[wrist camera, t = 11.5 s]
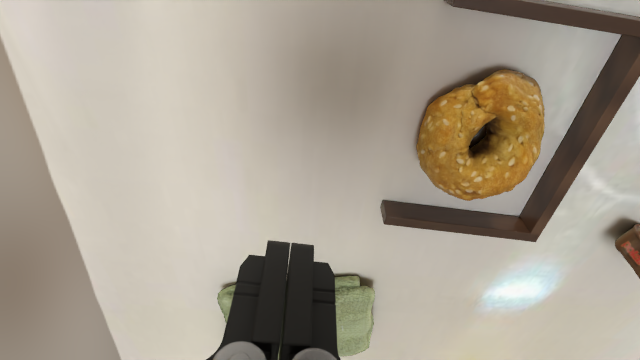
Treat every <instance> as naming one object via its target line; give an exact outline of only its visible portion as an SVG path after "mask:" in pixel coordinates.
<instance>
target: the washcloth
mask: <svg viewBox="0 0 640 360" xmlns="http://www.w3.org/2000/svg"><path fill="white" fill-rule="evenodd" d="M235 286H236V285H231V286H229V287H228V288H225V289H223V290H221V292H219V293H218V297H217V299H218V304H219V306H220V308H221V310H222V312H223V314H224V318H225V321H226V323H227V320H228V316H229V312H230V307H231V303H232V299H233V295H234V290H235ZM335 296H336V303H335V305H336V324H337V349H338V354H339V356H351V355H354V354H357V353H360V352H362V351H365V350H366V349H367V348H369V343H370V336H371V332H372V328H373V324H374V322H373V316H372V314H371V310H372V304H373V302H374V297H375V292H374V289H373V288H369V286H368V287H367V286H360V281H359V277H358V276H354V277H352V276H345V277H335ZM279 349H280V348H279ZM278 359H279V354H278Z"/></svg>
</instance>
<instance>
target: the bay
mask: <svg viewBox="0 0 640 360" xmlns="http://www.w3.org/2000/svg"><path fill="white" fill-rule="evenodd" d="M444 1H445V2H447V3H448V4H450V5H452V6H453V7H459V8H465V9H471V10H478V11H484V12H490V13H496V14H502V15H508V16H514V17H520V18H526V19H532V20H538V21H544V22H550V23H556V24H562V25H568V26H575V27H581V28H587V29H593V30H599V31H605V32H611V33H617V34H623V35H622V37H621V38H620V40H619V42H618V44H617V45H616V47H615V49H614V51H613V52H612V54H611V56H610V58H609V60H608V61H607V63H606V65H605V67H604V68H603V70H602V72H601V74H600V75H599V77H598V79H597V81H596V82H595V84H594V86H593V88H592V90H591V91H590V93H589V95H588V97H587V98H586V100H585V102H584V104H583V105H582V107H581V109H580V111H579V113H578V114H577V116H576V118H575V120H574V121H573V123H572V125H571V127H570V128H569V130H568V132H567V134H566V135H565V137H564V139H563V141H562V143H561V144H560V146H559V148H558V150H557V151H556V153H555V155H554V157H553V158H552V160H551V162H550V164H549V165H548V167H547V169H546V171H545V173H544V174H543V176H542V178H541V180H540V181H539V183H538V185H537V187H536V188H535V190H534V192H533V194H532V196H531V197H530V199H529V201H528V203H527V204H526V206H525V208H524V210H523V211H522V213H521V215H520V217H516V216H508V215H500V214H492V213H483V212H475V211H467V210H459V209H451V208H442V207H434V206H426V205H418V204H410V203H401V202H393V201H385V200H383V201H382V205H381V212H382V217H383V222H384V224H387V225H395V226H404V227H412V228H421V229H430V230H438V231H447V232H455V233H464V234H472V235H481V236H490V237H498V238H507V239H515V240H524V241H531V242H536V241H537V239H538V237H539V236H540V234H541V233H542V231H543V229H544V228H545V226H546V225H547V223H548V221H549V220H550V218H551V217H552V215H553V213H554V212H555V210H556V209H557V207H558V205H559V204H560V202H561V201H562V199H563V197H564V196H565V194H566V193H567V191H568V189H569V188H570V186H571V185H572V183H573V181H574V180H575V178H576V177H577V175H578V173H579V172H580V170H581V169H582V167H583V165H584V164H585V162H586V161H587V159H588V157H589V156H590V154H591V153H592V151H593V150H594V148H595V146H596V145H597V143H598V142H599V140H600V138H601V137H602V135H603V134H604V132H605V130H606V129H607V127H608V126H609V124H610V122H611V121H612V119H613V118H614V116H615V114H616V113H617V111H618V110H619V108H620V106H621V105H622V103H623V102H624V100H625V98H626V97H627V95H628V94H629V92H630V90H631V89H632V87H633V86H634V84H635V82H636V81H637V79H638V78H639V76H640V17H636V16H630V15H624V14H618V13H612V12H606V11H600V10H595V9H589V8H583V7H577V6H571V5H565V4H559V3H553V2H547V1H541V0H444Z"/></svg>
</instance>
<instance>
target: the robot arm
mask: <svg viewBox="0 0 640 360" xmlns="http://www.w3.org/2000/svg"><path fill="white" fill-rule="evenodd" d="M289 248H290V243H288V242H279V241H269V240H268V243H267V249H266V255H265V256H255V255H249V256H248V257H247V259H246V260H245V261H244V262H243V264H242V265H241V266H240V269H239V273H238V278H237V283H236V286H235V290H234V295H233V299H232V303H231V307H230V312H229V316H228V320H227V324H226V329H225V333H224V337H223V340H222V343H221V345H220V347H219V348H218V350H217V351H216V352H215V353H214V354H213V355H212V356H211V357H209V358H208V359H206V360H340V357H339V354H338V349H337V324H336V305H335V303H336V296H335V276H334V274H333V272H332V270H331V268H330V266H329V264H328V263H322V262H314V245H307V244H298V243H292V245H291V252H290V259H289ZM288 259H289V266H288ZM287 269H288V273H287ZM286 279H287V280H286ZM279 348H280V349H279ZM278 354H279V359H278Z"/></svg>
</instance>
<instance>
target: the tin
mask: <svg viewBox="0 0 640 360" xmlns="http://www.w3.org/2000/svg"><path fill="white" fill-rule="evenodd" d="M615 246H616V248H617V250H618V251H619V252H621V254H622V255H623V256H624V258H625V259H626V260H627V262H628V263H629V264H630V265H631V267H632V268H633V269H634V271H635V273H636V274H637V275H638V277H639V278H640V225H639V224H636V225H634V227H633V228H632V229H630V230H629V231H627V232H626V233H624V234H623V235H621V236H620V237H619V238H618V239H617V240H616V242H615Z"/></svg>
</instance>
